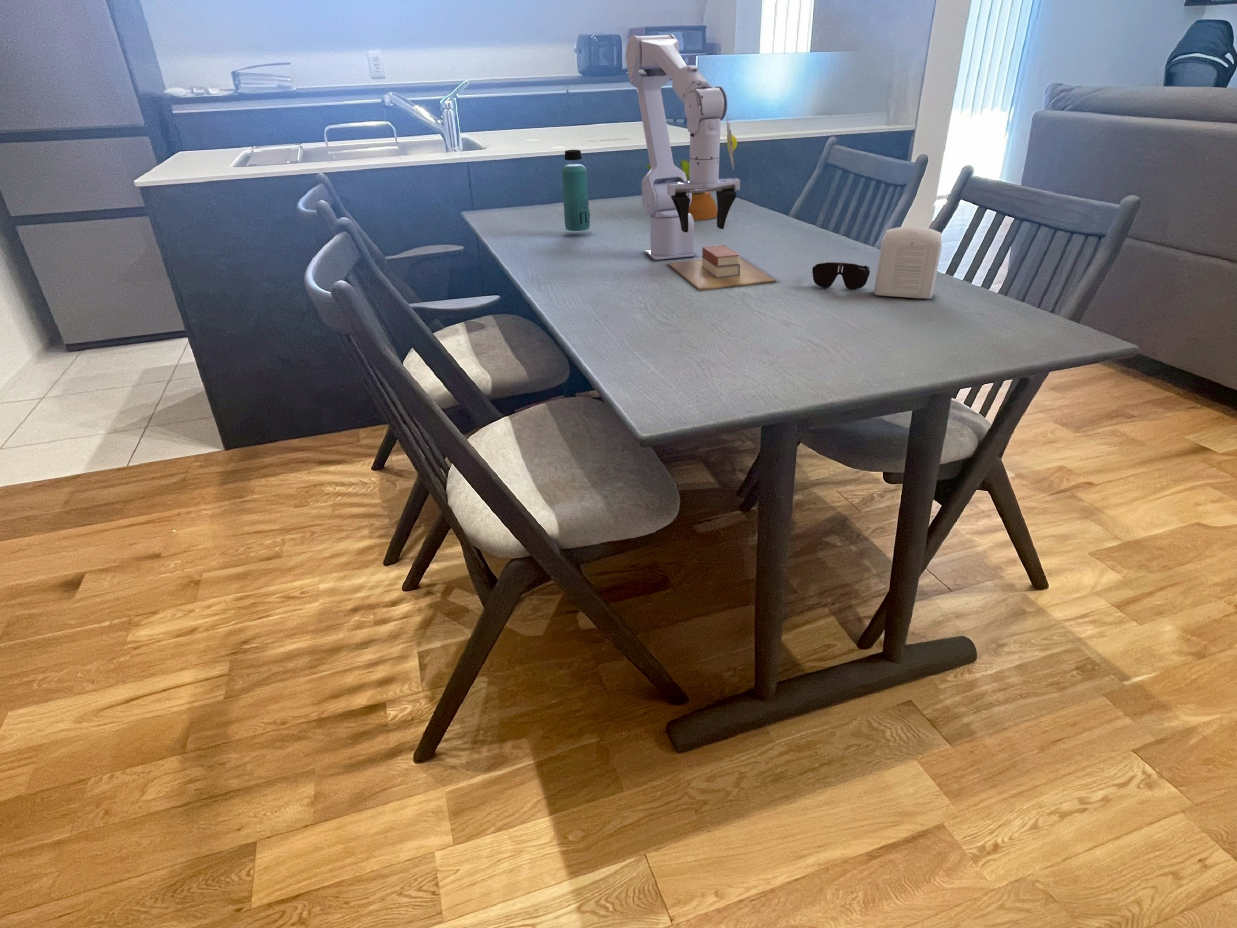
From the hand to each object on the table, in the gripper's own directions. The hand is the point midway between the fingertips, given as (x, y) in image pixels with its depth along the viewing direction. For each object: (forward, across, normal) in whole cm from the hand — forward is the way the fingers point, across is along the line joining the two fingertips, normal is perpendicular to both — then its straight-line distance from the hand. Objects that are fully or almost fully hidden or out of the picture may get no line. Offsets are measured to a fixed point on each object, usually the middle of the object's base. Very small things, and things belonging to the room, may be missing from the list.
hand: (702, 229), depth 150 cm
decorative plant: (+9, +17, +56) cm, 60 cm away
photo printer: (+9, +29, -28) cm, 41 cm away
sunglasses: (+9, +23, -16) cm, 29 cm away
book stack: (+8, +4, -2) cm, 9 cm away
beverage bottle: (+9, -17, +45) cm, 49 cm away
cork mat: (+9, +4, -2) cm, 10 cm away
